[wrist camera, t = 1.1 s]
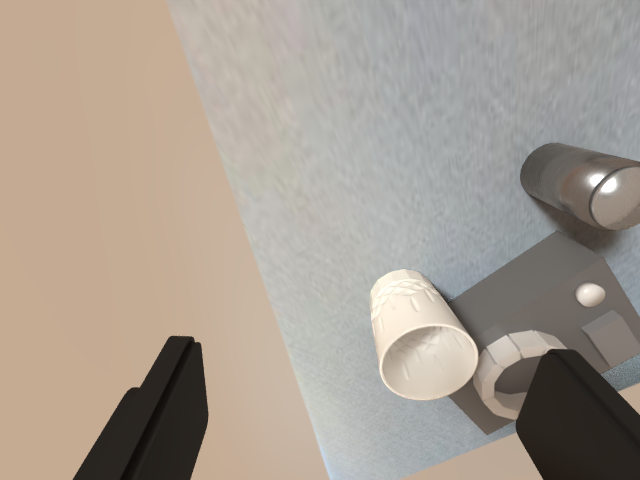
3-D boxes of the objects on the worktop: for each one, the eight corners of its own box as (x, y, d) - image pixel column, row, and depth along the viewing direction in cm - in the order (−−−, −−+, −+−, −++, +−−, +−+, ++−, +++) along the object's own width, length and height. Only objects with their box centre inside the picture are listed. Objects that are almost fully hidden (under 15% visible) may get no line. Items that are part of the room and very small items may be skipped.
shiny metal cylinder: (561, 130, 31) (651, 146, 23) (585, 173, 32) (677, 203, 24) (510, 168, 32) (578, 196, 24) (535, 207, 34) (607, 247, 25)
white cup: (432, 327, 39) (468, 400, 30) (361, 326, 39) (375, 401, 30) (443, 263, 36) (487, 324, 27) (366, 263, 36) (384, 323, 27)
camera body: (557, 230, 35) (622, 269, 27) (606, 307, 38) (676, 359, 31) (407, 330, 39) (429, 386, 32) (464, 390, 43) (495, 453, 36)
